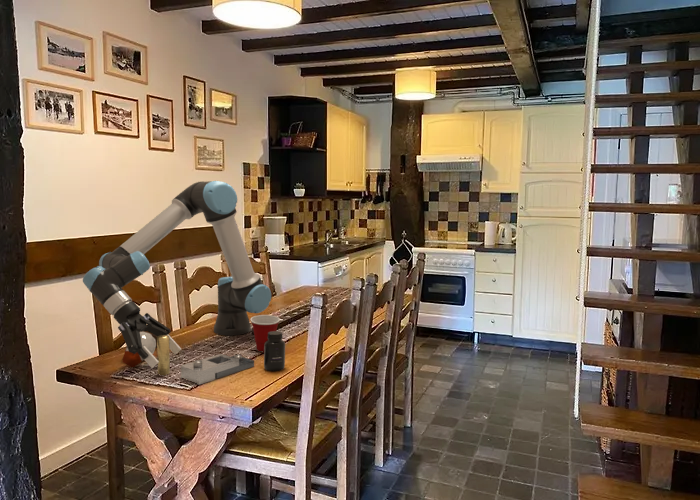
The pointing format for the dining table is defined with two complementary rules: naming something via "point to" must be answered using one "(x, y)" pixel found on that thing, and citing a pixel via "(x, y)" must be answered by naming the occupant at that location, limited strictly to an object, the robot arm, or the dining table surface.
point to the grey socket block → (207, 368)
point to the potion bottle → (136, 358)
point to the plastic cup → (263, 328)
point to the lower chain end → (243, 365)
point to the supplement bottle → (274, 352)
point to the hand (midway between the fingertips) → (167, 358)
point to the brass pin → (163, 354)
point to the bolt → (155, 339)
